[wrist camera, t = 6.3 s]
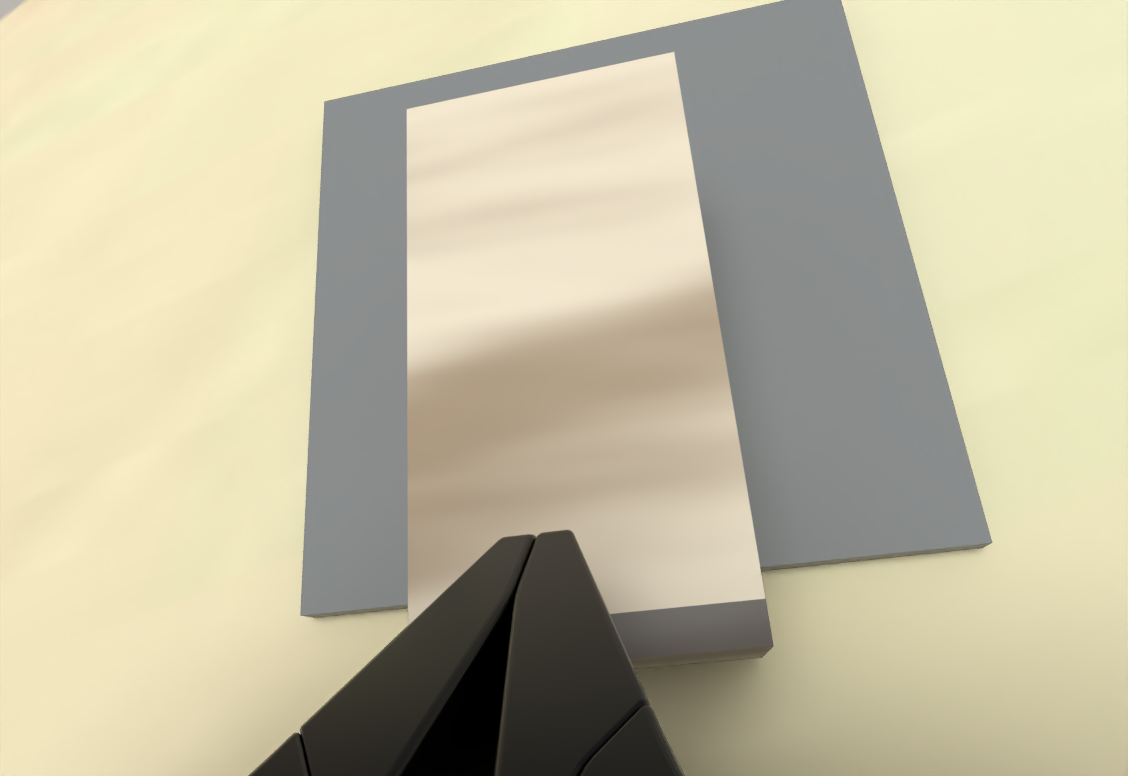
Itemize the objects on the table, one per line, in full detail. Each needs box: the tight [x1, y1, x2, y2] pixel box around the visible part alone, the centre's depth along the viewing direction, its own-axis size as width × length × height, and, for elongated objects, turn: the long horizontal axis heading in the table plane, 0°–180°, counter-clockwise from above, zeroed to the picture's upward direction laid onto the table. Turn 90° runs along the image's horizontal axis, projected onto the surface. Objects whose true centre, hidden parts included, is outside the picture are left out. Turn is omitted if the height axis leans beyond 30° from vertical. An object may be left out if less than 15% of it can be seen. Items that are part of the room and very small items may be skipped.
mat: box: [300, 0, 992, 618], centre depth 18 cm, size 14×14×1 cm
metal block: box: [407, 52, 773, 669], centre depth 15 cm, size 5×5×10 cm
